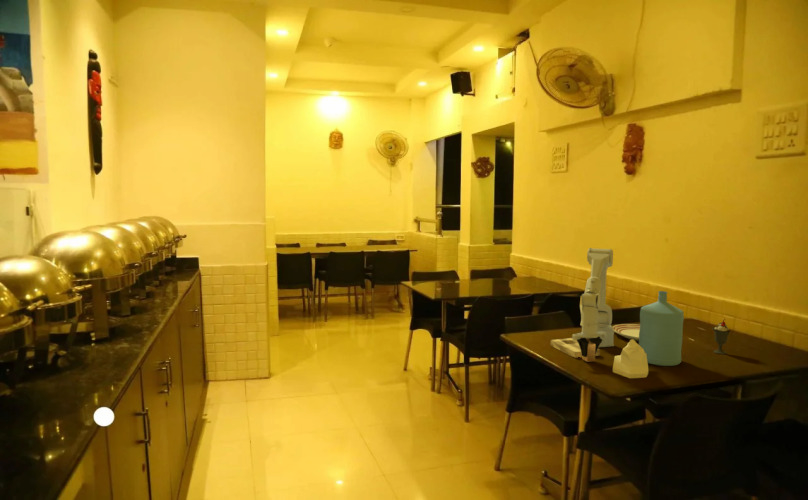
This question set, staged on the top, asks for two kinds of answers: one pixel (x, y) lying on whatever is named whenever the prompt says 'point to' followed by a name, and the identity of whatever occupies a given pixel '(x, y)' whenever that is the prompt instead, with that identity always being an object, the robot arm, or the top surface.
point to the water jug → (661, 332)
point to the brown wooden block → (590, 352)
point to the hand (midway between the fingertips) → (588, 355)
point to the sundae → (721, 336)
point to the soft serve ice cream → (631, 361)
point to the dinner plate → (628, 331)
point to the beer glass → (581, 311)
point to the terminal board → (570, 347)
